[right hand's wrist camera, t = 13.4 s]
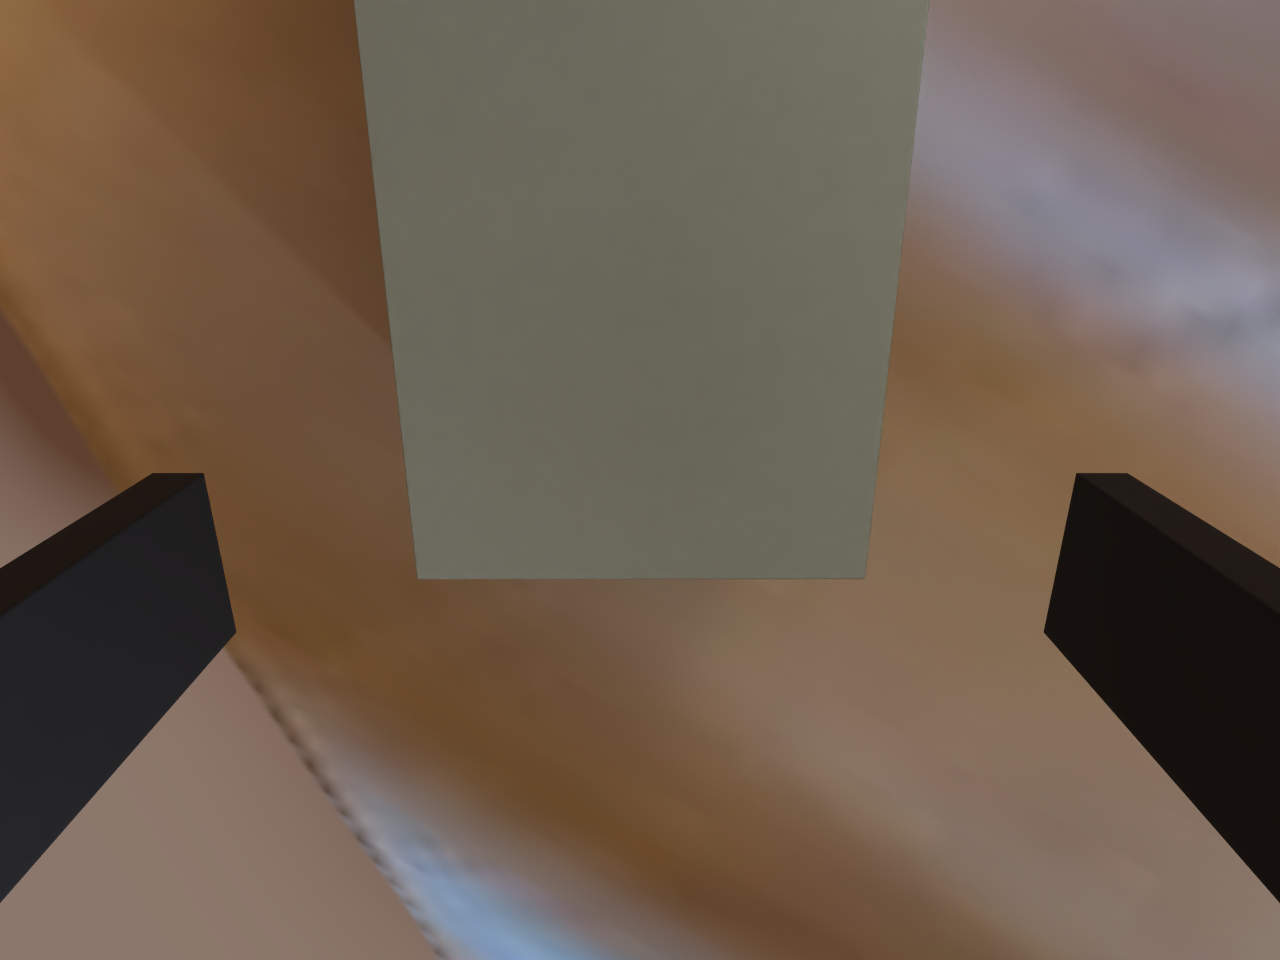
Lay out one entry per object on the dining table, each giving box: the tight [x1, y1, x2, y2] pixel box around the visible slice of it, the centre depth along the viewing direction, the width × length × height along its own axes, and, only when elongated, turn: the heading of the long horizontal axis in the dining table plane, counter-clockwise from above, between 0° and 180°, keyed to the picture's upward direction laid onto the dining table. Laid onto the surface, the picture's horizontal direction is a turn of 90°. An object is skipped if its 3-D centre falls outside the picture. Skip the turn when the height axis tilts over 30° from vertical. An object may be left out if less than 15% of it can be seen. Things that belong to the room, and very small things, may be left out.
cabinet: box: [354, 0, 929, 579], centre depth 21 cm, size 18×11×10 cm, turn 0°
